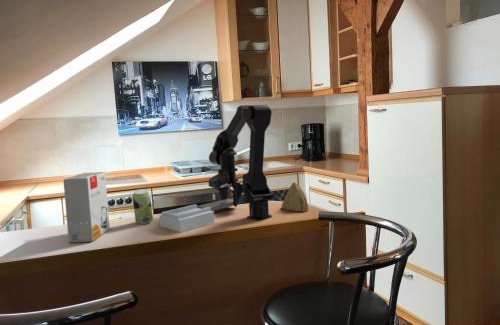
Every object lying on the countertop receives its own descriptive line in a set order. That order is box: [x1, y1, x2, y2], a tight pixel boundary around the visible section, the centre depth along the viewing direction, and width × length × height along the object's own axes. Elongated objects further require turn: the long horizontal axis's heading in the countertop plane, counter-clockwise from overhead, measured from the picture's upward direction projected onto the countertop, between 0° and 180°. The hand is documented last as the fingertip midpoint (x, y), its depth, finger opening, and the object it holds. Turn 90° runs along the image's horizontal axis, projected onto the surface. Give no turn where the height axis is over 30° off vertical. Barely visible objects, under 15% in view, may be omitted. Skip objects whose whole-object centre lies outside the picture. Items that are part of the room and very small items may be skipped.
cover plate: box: [197, 198, 240, 212], centre depth 160 cm, size 6×16×2 cm, turn 135°
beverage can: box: [132, 188, 154, 225], centre depth 147 cm, size 6×7×12 cm
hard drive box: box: [63, 171, 111, 243], centre depth 134 cm, size 16×8×20 cm, turn 179°
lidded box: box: [159, 203, 215, 233], centre depth 142 cm, size 12×14×5 cm
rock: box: [280, 182, 309, 212], centre depth 156 cm, size 11×9×10 cm
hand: (230, 205), depth 164 cm, fingers closed on cover plate, 6 cm apart
